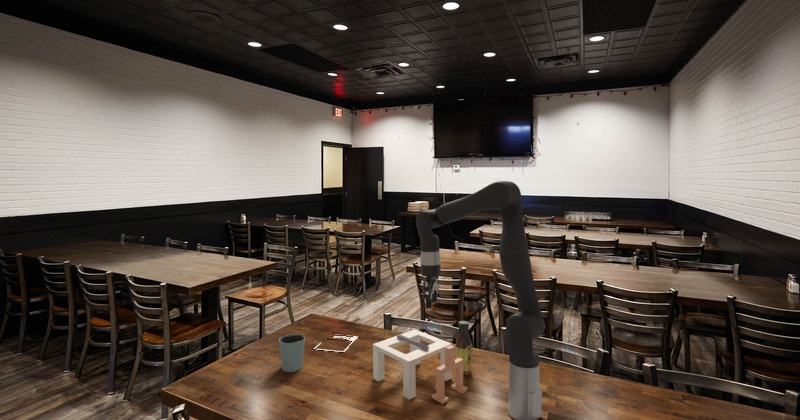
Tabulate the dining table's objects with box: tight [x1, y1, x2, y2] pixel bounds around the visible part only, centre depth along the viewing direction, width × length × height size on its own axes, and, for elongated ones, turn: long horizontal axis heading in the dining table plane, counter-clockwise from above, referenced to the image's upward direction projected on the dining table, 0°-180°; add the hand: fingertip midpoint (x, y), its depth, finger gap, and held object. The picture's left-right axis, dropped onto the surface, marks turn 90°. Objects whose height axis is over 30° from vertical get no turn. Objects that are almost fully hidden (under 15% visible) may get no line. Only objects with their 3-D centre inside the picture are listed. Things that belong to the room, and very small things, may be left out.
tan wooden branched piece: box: [431, 344, 468, 405], centre depth 140 cm, size 13×5×17 cm, turn 132°
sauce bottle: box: [455, 320, 473, 376], centre depth 156 cm, size 7×6×20 cm
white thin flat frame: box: [313, 335, 359, 353], centre depth 186 cm, size 15×1×18 cm
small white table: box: [372, 329, 453, 400], centre depth 152 cm, size 22×20×15 cm
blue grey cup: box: [278, 333, 306, 373], centre depth 162 cm, size 10×10×12 cm
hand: (431, 305), depth 152 cm, fingers open, 8 cm apart
